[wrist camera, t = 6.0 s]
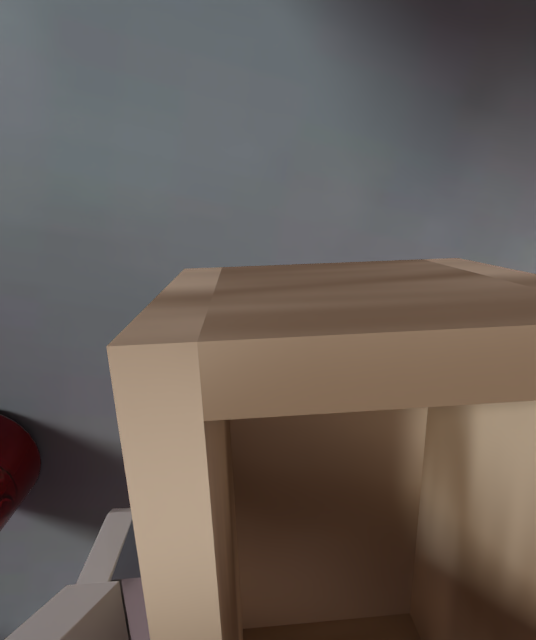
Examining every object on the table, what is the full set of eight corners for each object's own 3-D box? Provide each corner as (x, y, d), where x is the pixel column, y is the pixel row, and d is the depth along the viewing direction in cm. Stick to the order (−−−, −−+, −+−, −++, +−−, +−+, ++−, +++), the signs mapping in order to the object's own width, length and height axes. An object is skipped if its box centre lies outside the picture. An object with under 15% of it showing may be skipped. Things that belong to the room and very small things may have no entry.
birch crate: (184, 268, 8) (107, 346, 3) (457, 258, 9) (733, 314, 4) (215, 623, 11) (196, 946, 6) (423, 604, 11) (559, 896, 6)
